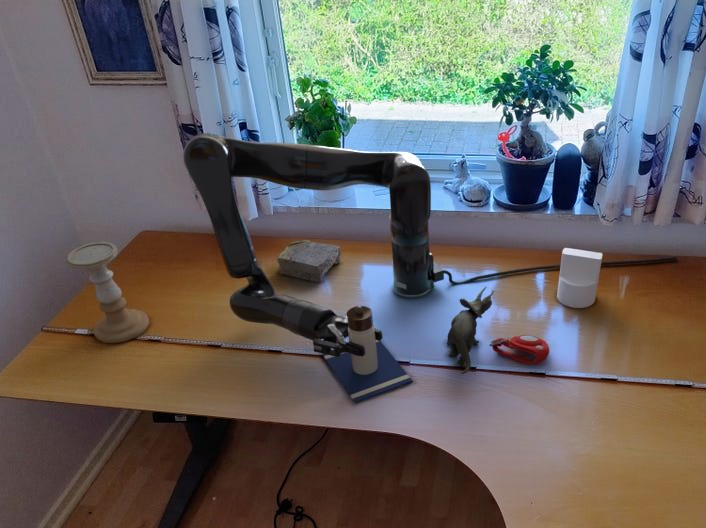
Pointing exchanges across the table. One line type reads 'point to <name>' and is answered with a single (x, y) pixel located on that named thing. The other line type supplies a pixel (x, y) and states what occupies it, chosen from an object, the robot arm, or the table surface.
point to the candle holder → (108, 294)
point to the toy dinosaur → (466, 329)
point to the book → (369, 375)
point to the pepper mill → (362, 339)
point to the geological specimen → (308, 259)
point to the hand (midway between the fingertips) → (372, 343)
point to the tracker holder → (523, 348)
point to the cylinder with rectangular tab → (578, 277)
